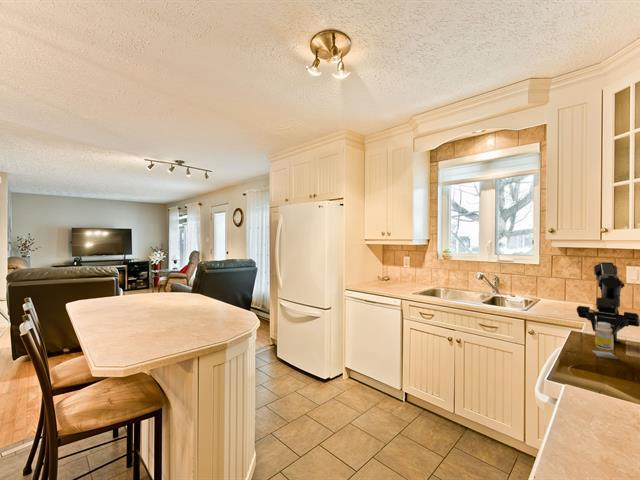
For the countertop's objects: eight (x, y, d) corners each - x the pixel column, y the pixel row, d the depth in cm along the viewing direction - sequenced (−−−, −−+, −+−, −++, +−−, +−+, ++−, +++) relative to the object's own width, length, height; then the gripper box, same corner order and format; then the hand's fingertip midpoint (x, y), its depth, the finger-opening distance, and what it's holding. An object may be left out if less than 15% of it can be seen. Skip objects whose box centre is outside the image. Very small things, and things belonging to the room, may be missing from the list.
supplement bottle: (603, 345, 126) (603, 320, 126) (617, 349, 121) (617, 324, 120) (591, 345, 126) (591, 321, 125) (605, 350, 120) (605, 325, 120)
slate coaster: (591, 351, 127) (591, 350, 127) (610, 353, 124) (610, 352, 124) (598, 356, 121) (598, 355, 121) (617, 359, 119) (617, 358, 119)
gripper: (577, 287, 133) (569, 316, 126) (638, 293, 118) (633, 326, 111) (582, 302, 137) (575, 331, 131) (642, 310, 122) (637, 342, 116)
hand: (603, 332), depth 122 cm, fingers closed on supplement bottle, 5 cm apart
